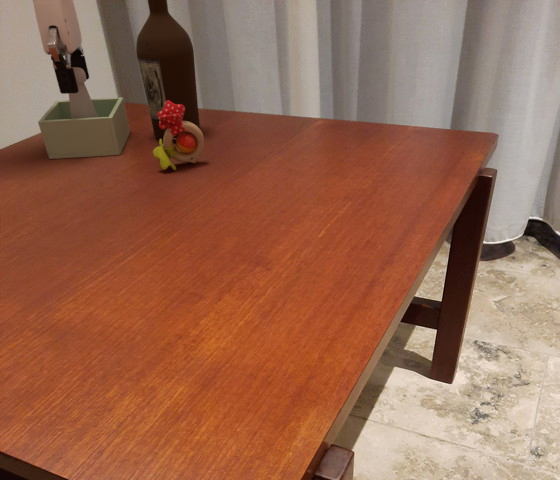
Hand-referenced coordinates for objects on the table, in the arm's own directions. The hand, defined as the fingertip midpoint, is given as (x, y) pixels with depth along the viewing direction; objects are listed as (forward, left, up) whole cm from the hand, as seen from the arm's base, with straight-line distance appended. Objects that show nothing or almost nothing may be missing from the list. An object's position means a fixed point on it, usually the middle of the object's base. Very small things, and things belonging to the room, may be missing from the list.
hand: (75, 85), depth 104 cm
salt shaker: (0, 0, -10) cm, 10 cm away
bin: (0, 0, -11) cm, 11 cm away
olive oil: (+17, +3, -11) cm, 21 cm away
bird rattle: (+19, -14, -11) cm, 26 cm away
